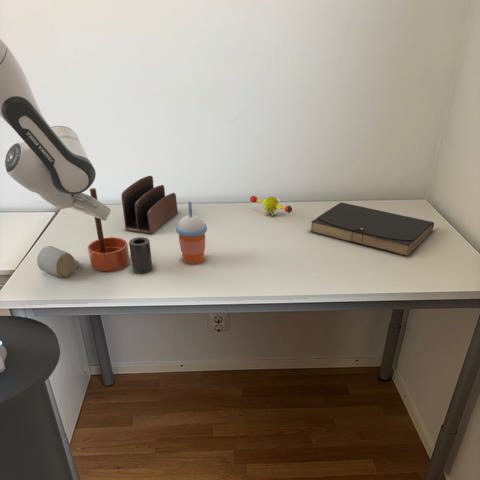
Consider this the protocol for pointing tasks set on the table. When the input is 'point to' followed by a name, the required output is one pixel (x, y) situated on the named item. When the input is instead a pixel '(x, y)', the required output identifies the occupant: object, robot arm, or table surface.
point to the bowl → (109, 254)
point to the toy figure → (271, 204)
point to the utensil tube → (141, 255)
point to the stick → (98, 226)
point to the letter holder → (147, 206)
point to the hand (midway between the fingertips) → (98, 215)
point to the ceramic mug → (56, 261)
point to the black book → (372, 228)
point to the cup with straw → (192, 237)
